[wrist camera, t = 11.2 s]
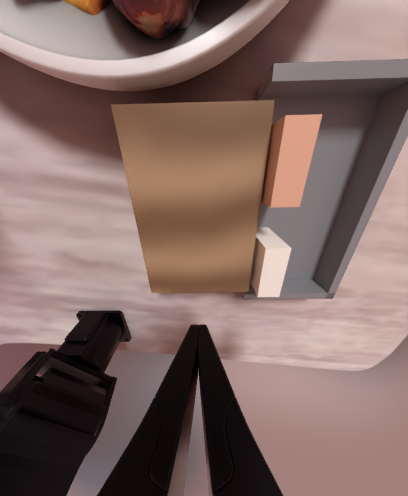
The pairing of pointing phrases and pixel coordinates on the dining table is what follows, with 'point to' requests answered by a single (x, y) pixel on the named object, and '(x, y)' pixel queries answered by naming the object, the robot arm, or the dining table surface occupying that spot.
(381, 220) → the dining table surface
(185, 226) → the board
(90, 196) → the dining table surface
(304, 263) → the tray
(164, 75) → the bowl
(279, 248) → the cream tile
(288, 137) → the terracotta tile
